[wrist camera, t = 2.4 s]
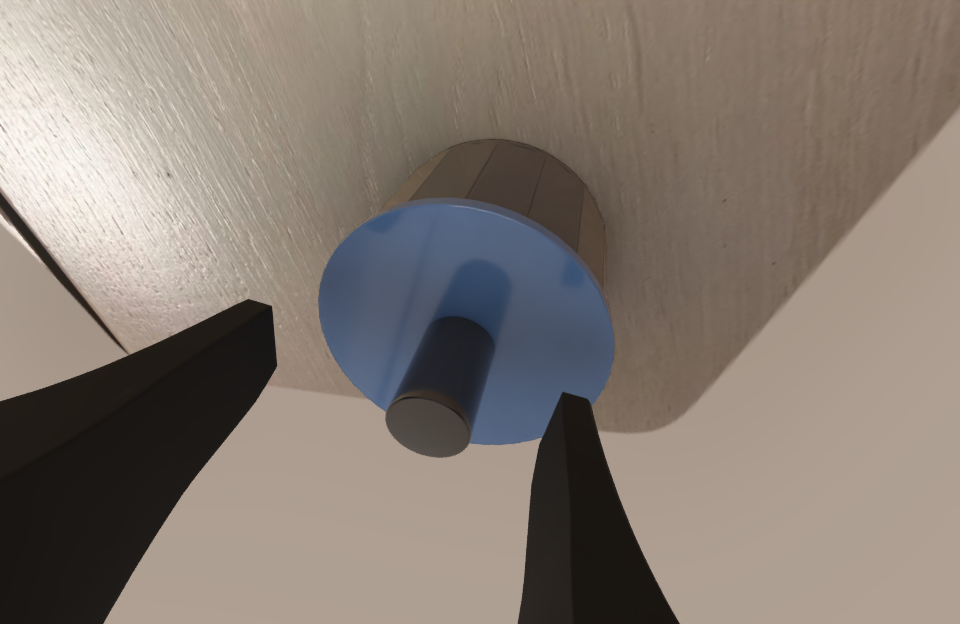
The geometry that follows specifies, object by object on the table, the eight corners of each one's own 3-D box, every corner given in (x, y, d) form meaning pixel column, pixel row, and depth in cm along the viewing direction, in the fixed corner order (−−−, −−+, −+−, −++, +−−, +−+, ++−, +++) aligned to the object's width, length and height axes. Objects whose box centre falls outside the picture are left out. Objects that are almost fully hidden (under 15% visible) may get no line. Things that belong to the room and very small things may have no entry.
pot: (641, 177, 19) (654, 261, 13) (565, 351, 24) (553, 457, 19) (409, 110, 19) (337, 167, 14) (387, 297, 24) (329, 387, 19)
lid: (668, 245, 14) (689, 353, 10) (559, 451, 20) (548, 567, 16) (336, 147, 14) (239, 216, 10) (329, 379, 20) (265, 476, 16)
